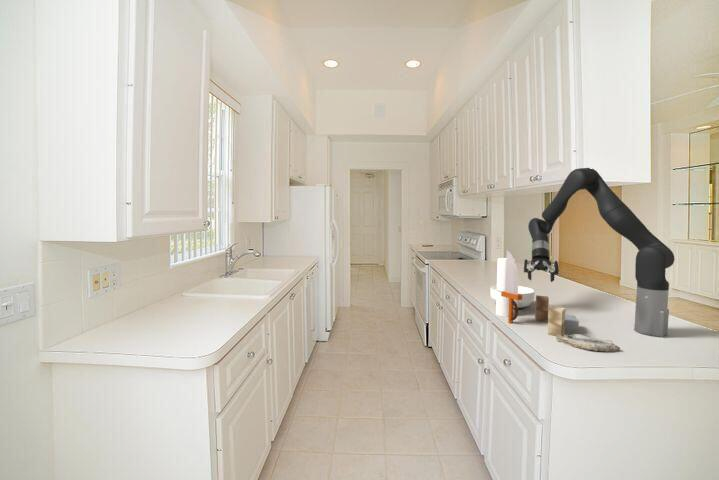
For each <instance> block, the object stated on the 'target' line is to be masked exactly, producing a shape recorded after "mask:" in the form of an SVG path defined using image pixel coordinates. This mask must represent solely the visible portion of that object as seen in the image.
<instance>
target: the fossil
mask: <svg viewBox="0 0 719 480" xmlns="http://www.w3.org/2000/svg"><path fill="white" fill-rule="evenodd" d="M555 338H556V341H557V342H559V343H561V344H562V345H563V344H564V345H568V346H570V347H575V348H577V349H578V348H579V349H582V350H588V351H595V352H604V353H605V352H607V353H608V352H618V351H620V349H621V347H620V346H618V345H616V344H615V343H614V342H613V341H612V340H609V339H599V338H596V337H590V336H588V335H587V336H586V335H584V334H582V333H578V334H577V333H572V334H564V335H563V336H557V337H556V336H555Z"/></svg>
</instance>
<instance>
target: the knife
mask: <svg viewBox="0 0 719 480" xmlns="http://www.w3.org/2000/svg"><path fill="white" fill-rule="evenodd" d="M505 258H506V276H505V291H502V292H501V296H503V297H507V298H509V315H508V317H507V320H508V321H507V322H508V324H513V323H514V321H516V319H517V318H518V314H519V308H518V307H517V304H516V302H515V301H514V299H515V300H522V295H520V294H518V286H519V273H518V272H519V271H518V265H517V264H516V260H515V261H514V259H515V258H514V256H513V255H512V253H511V252H510V251H509V250H506V257H505ZM513 305H514V307H515V308H513Z"/></svg>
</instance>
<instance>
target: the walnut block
mask: <svg viewBox="0 0 719 480" xmlns="http://www.w3.org/2000/svg"><path fill="white" fill-rule="evenodd" d="M549 303H550V300H549V296H548V295H547V296H546V295H535V311H534V312H535V315H534V317H535V318H534V319H535V321H536V322H540V323H548V312H549Z"/></svg>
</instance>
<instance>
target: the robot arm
mask: <svg viewBox="0 0 719 480" xmlns="http://www.w3.org/2000/svg"><path fill="white" fill-rule="evenodd" d="M590 168H591V167H581V168H575V169H573V170H571V171H570V173H569V174H568V175H567V177H566V178H565V180H564V182H563V183H562V185H561V187H560V189H559V190H558V192H557V194H555V196H554V198H553V199H552V201H551V202H550V203H549V204H548V206H547V207H546V208H545V209H544V210H543V211H542V213H541V217H542V219H541V218H538V217H533V218H532V219H530V220H529V222H528V231H529V235H530V237H531V241H532V242H531V243H532V244H531V260H528V259H524V265H523V273H527V279H528V280H529V281H532V273H533V272H535V271H545V272H547V274H548V273H549V275H550V278H549V279H550V282H551V283H552V282H553V281H555V275H559V272H560V269H559V262H558V261H557V260H555V261H551V259H550V245H549V236H548V235H549V234H550V233H551V232H552V229H553V226H554V225H555V223H556V221H557V220H558V219H559V217H560V216H561V215H562V214H563V213H564V212H565V211H566V208H567V206H568V202H569V200H570V199H571V198H572V196H574V195H575V194H576V193H577V192H579V191H581V190H585V191H586V192H588V193H589V195H591V196H592V197H593V199H595V202H596V203H597V204H596V205H597V209H598V213H599V215H600V217H601V218H602V219H603V220H604V221H605V223H606V224H607V225H608V226H609V227H610V228H611V229H612V230H613V231H615V232H616V233H617V234H619V235H620V236H622V237H623V238H625V239H627V240H628V241H629V242H631V243H632V244H633V245H634V246H635V247H636V249H637V250H638V251H637V253H636V255H635V263H634V266H635V270H634V272H635V275H634V276H635V280H636V284H637V285H636V294H635V295H636V296H635V311H634V326H633V327H634V328H633V329H634V331H635V332H636V333H640V334H642V335H648V336H653V337H661V338H664V337H665V336H667V335H668V331H669V330H668V329H669V317H670V309H669V308H668V304H669V291H670V282H669V281H668V280H667V279H666V269H668V268H670V267H672V266H673V265H674V263H675V260H676V259H675V255H674V252H673V250H671V248H670V247H668V246H667V245H666V244H665V243H663V242H662V241H661V240H660V239H659V238H658V237H656V236H655V235H654V234H653V233H652V232H651V231H650V230H649V228H647V226H646V225H645V224H644V223H643V222H642V221H641V220H640V219H639V218H638V217H637V215H636V214H635V213H634V212H633V211H632V210H631V209H630V208H629V207H628V206H627V204H625V203H624V202H623V201H622V200H621V199H620V197H619V196H617V194H616V193H615V192H614V191H613V190H612V189H611V188H610V187H609V185H608V184H607V183H606V182H605V180H604V179H603V177H602V176H601V174H599V172H598V171H597V170H596V169H594V168H592V169H590ZM529 265H531V266H530V267H529V268H528V266H529ZM552 267H553V268H554V269H553V268H552Z"/></svg>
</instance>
